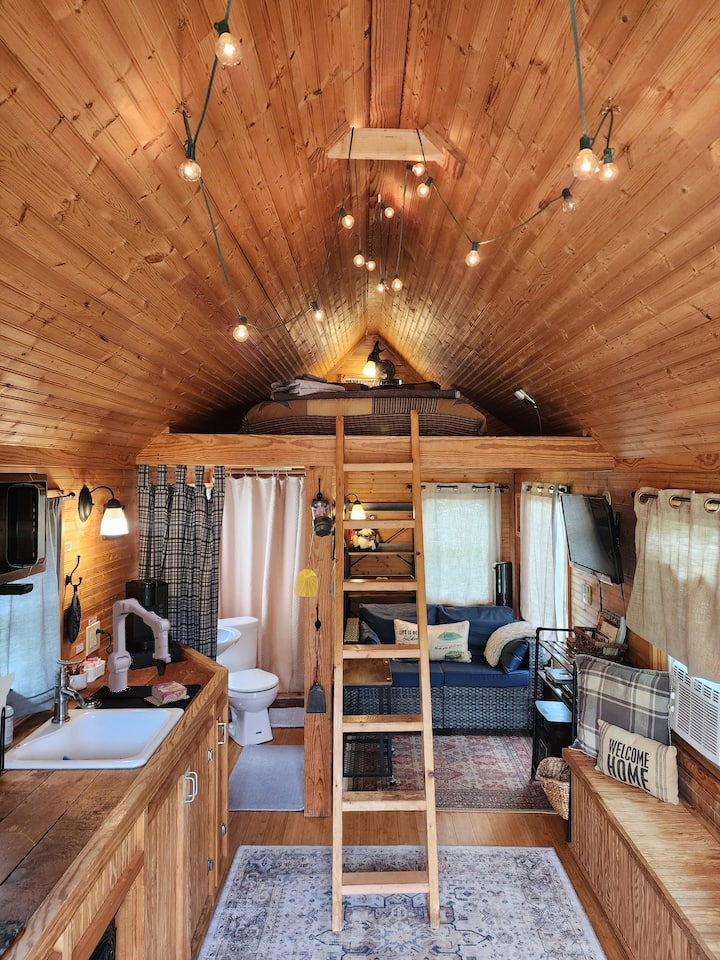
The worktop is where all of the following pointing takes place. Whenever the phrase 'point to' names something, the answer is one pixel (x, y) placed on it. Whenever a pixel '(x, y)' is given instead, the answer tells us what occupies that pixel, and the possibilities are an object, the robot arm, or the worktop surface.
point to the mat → (155, 700)
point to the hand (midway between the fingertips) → (161, 675)
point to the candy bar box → (169, 692)
